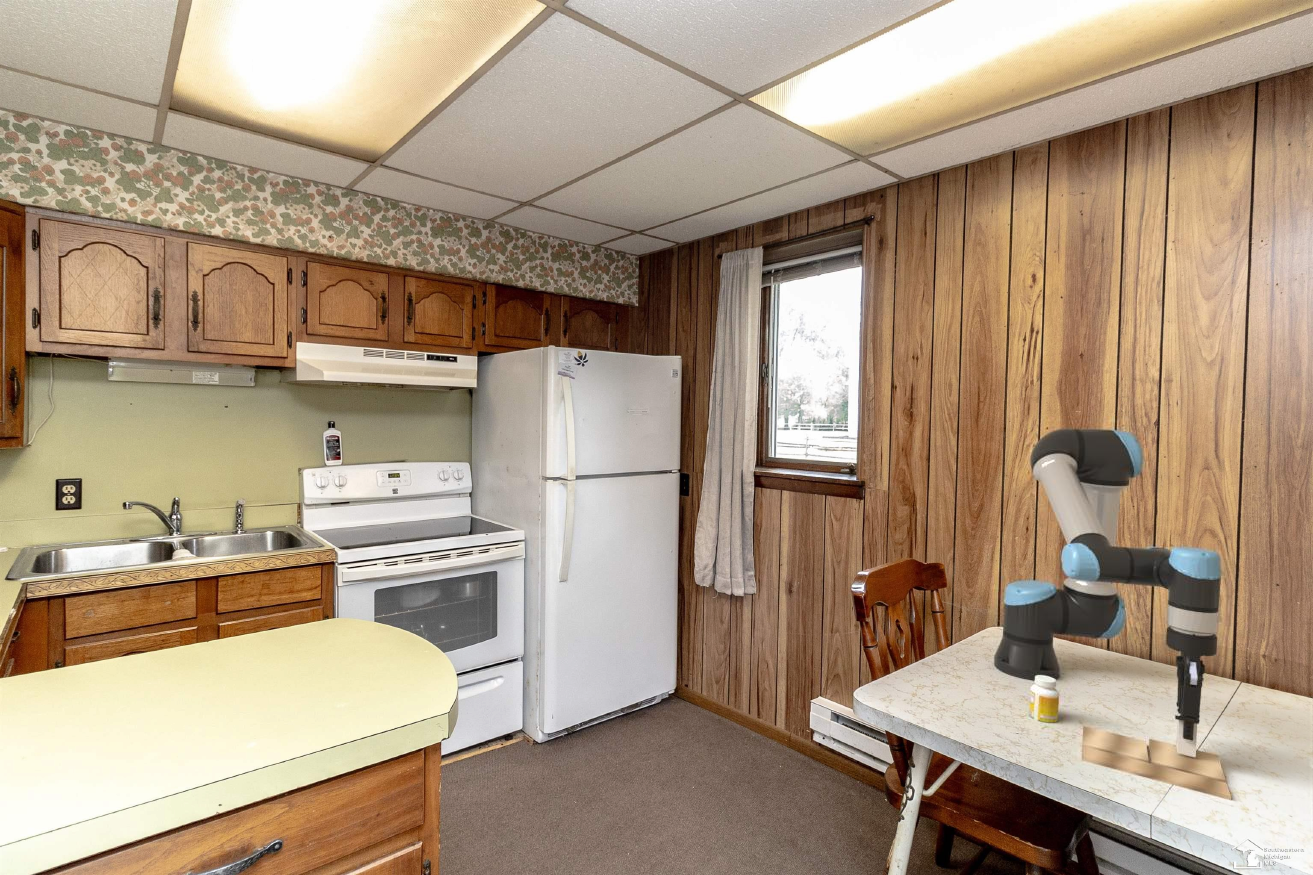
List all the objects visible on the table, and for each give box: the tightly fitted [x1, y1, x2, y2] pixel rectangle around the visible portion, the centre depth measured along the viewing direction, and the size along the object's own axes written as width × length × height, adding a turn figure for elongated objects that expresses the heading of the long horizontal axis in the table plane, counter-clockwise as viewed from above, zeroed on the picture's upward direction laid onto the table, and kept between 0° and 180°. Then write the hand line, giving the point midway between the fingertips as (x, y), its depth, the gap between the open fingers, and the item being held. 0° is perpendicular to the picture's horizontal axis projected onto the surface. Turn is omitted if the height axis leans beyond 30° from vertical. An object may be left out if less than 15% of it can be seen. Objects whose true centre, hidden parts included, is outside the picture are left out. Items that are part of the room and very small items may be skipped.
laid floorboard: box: [1081, 745, 1232, 801], centre depth 121 cm, size 22×5×1 cm, turn 56°
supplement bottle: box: [1028, 675, 1060, 724], centre depth 143 cm, size 5×5×10 cm
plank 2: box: [1148, 738, 1226, 783], centre depth 124 cm, size 10×9×1 cm
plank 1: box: [1081, 725, 1150, 763], centre depth 130 cm, size 10×9×1 cm
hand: (1185, 752), depth 125 cm, fingers closed
